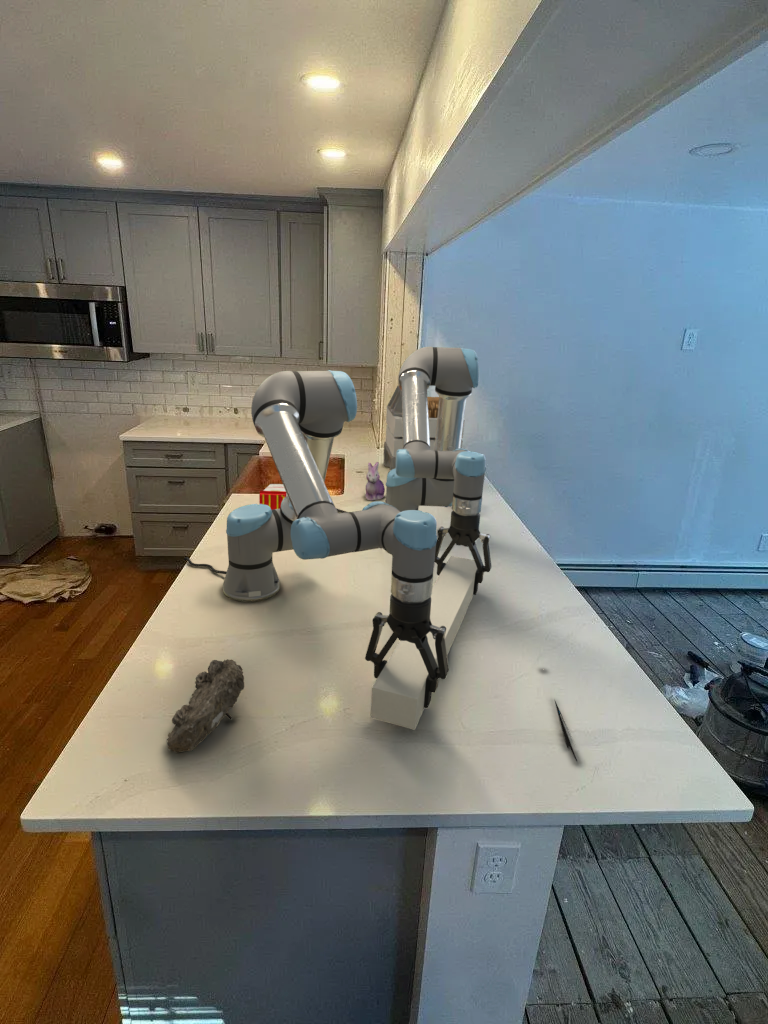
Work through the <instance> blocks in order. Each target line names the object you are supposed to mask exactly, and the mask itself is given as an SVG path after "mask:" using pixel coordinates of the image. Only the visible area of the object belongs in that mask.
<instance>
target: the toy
mask: <svg viewBox="0 0 768 1024" xmlns="http://www.w3.org/2000/svg"><path fill="white" fill-rule="evenodd" d="M258 495H259V497H258V500H259V501H258V503H259V504H265V505H268V506H269V507H270V508H271V510H273V509H280V507H281V502H282V500H283V499H284V498H285V497H286V496H288V495H287V493H286V490H285V488H284V485H283V483H269V485H268V486H266V487H265V489H263V490H259V494H258ZM259 504H258V505H259Z"/></svg>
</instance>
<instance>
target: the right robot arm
mask: <svg viewBox="0 0 768 1024" xmlns="http://www.w3.org/2000/svg"><path fill="white" fill-rule="evenodd" d="M397 379H398V380H397V382H398V383H397V384H398V385H399V388H400V389H401V391H402V437H403V449H399V450H397V452H396V468H395V469H392V470H391V471H390V470H389V471H388V473H387V475H386V482H385V487H386V488H385V503H387V504H389V505H392V506H393V507H395V508H397V509H398V510H399V511H400V512H402V511H406V510H419V507H441V508H442V507H444V508H449V507H451V510H452V511H451V513H450V523H449V527H444V526H440V527H439V528H438V530H437V542H436V551H435V561H434V564H436V575H437V576H439V575H440V573H441V571H442V570H443V568H444V566H445V565H446V563H447V562H444V561H445V560H446V558H447V557H448V556H449V554H450V552H451V551H452V549H453V548H454V546H455V545H456V546H463V547H466V548H468V550H469V551H470V553H471V556H472V558H473V559H472V560H474V561H475V564H476V566H477V570H476V573H475V582H474V591H473V596H476V595H477V593H478V591H479V584H482V583H483V581H484V575H485V574H484V573H490V571H491V569H492V559H491V551H490V539H491V535H490V533H486V534H485V533H481V531H480V523H481V522H480V521H481V514H480V513H481V511H482V503H483V491H484V485H485V484H484V483H485V476H486V471H487V467H486V466H487V465H486V464H487V462H486V461H487V457H486V456H485V454H483V453H480V452H478V451H472V450H470V451H469V450H468V449H467V448H463V447H462V448H460V445H461V440H462V438H461V437H462V429H463V420H465V411H466V404H467V403H466V402H467V398H468V397H470V396H472V393H473V389H475V388H478V386H479V383H480V366H479V358H478V354H477V352H476V351H475V350H474V349H473V348H465V347H445V346H423V347H420V348H418V349H416V350H415V351H413V352H412V353H410V355H408V356H407V357H406V358H405V360H404V361H403V363H402V365H401V367H400V369H399V372H398V378H397ZM398 385H397V386H398ZM430 386H431V387H434V391H435V393H436V395H438V397H439V404H438V415H437V425H436V436H435V446H434V450H430V439H429V418H428V398H427V397H428V389H429V388H430ZM335 508H336V507H335ZM336 509H337V511H338V513H346V512H347V511H346V510H343V509H341V508H336ZM447 534H448V535H449V537H450V539H451V541H450V543H449V544H448V545H447V547H446V548H445V550H444V551H443V553H442V554H441V556H440V557H439V554H440V550H441V549H442V548H441V547H442V544H443V542H444V539H445V537H446V536H447ZM478 539H479V540H480V543H482V553H483V560H482V557H481V555H480V552H479V549H478V547H477V543H476V541H477V540H478ZM483 561H484V562H483Z"/></svg>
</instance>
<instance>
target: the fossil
mask: <svg viewBox="0 0 768 1024" xmlns="http://www.w3.org/2000/svg"><path fill="white" fill-rule="evenodd" d="M243 670H244V669H243V667H242V665H240V664H237V662H236V661H235V660H234V659H232V658H231V659H227V658H226V659H224V660H223V661H222V660H217V659H212V660H211V661H210V663H209V665H208V666H207V671H201V672H199V673H198V674H197V675H196V676H195V680H194V684H195V685H194V687H195V689H194V690H193V693H192V694H191V697H190V698H189V700H188V704H184V705H182V706H181V707H180V709H177V710H176V711H175V713H174V715H173V716H172V718H171V723H172V724H173V727H172V730H171V731H170V732H168V734H167V738H166V741H167V742H166V745H167V749H168V750H169V751H173V752H174V753H176V754H178V753H182V752H188V751H189V752H192V751H193V750H195V748H196V747H197V746H199V744H200V743H201V742H203V741H204V740H205V739H206V738H207V737H208V736H209V735H210V734H211V733H212V732H214V730H215V729H217V727H218V726H219V724H220V722H221V721H222V720H223V719H224V718H225V716H226V717H227V719H229V720H233V717H232V715H230V714H229V710H230V709H231V708H234V706H235V704H236V703H237V702H238V699H239V697H240V695H241V693H242V691H243V690H245V689H244V688H245V675H244V671H243Z"/></svg>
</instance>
